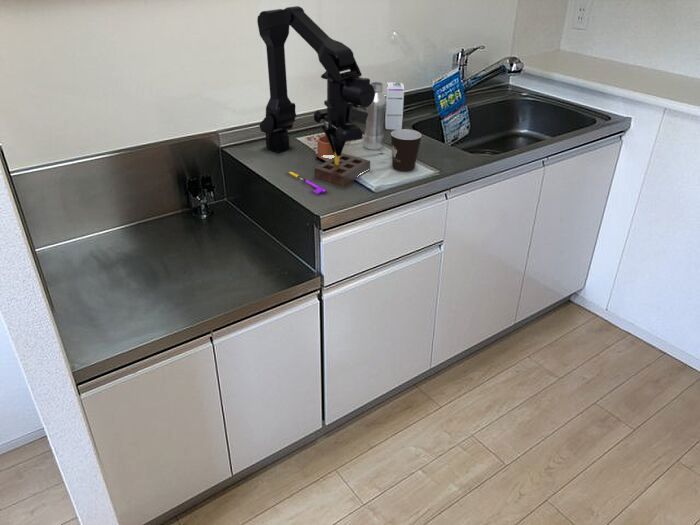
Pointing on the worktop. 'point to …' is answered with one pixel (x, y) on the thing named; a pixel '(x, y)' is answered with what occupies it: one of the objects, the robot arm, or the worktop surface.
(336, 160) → the pencil
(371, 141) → the silver metal bottle
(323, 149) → the pen pot
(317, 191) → the purple long piece
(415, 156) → the coffee mug
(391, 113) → the syrup box
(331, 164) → the pencil block
